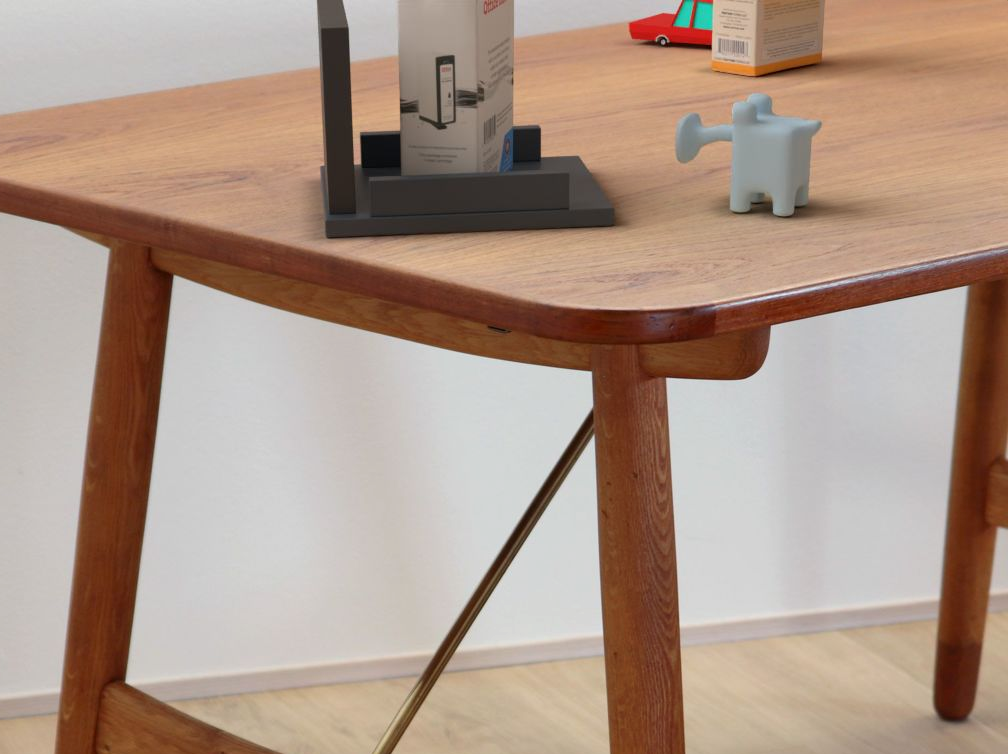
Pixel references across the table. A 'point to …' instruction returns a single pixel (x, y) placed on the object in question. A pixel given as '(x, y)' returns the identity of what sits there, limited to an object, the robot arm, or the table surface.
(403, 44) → the ink box
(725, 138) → the figurine
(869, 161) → the table surface
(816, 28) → the supplement box
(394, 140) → the cradle
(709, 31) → the toy car
